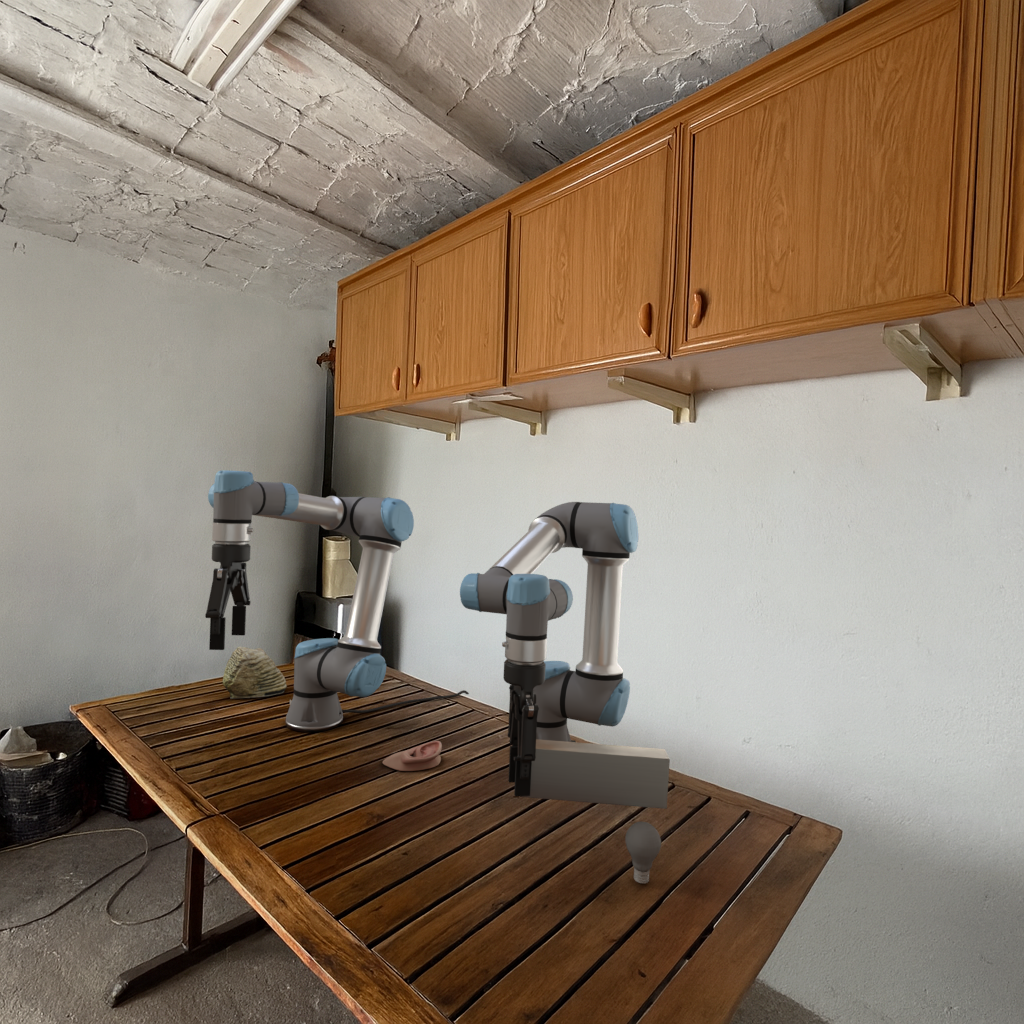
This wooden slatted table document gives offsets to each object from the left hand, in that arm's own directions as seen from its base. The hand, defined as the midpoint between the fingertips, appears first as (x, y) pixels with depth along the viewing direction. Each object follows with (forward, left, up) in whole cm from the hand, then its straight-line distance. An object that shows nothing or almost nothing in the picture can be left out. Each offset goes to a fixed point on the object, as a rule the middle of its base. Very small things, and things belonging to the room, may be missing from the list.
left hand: (228, 642), depth 135 cm
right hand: (-23, +62, -19) cm, 69 cm away
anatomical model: (-37, +19, -31) cm, 52 cm away
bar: (-31, +73, -20) cm, 82 cm away
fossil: (-37, -53, -31) cm, 72 cm away
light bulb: (-31, +83, -31) cm, 94 cm away
